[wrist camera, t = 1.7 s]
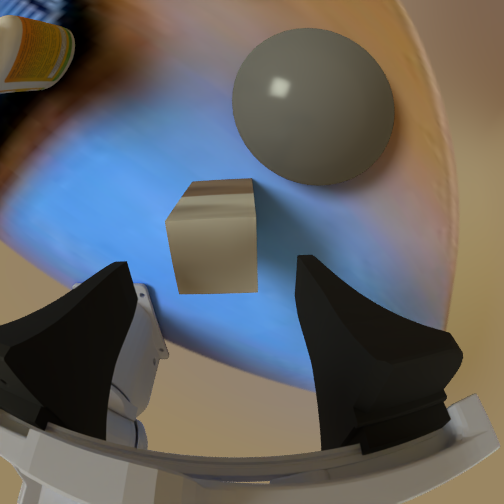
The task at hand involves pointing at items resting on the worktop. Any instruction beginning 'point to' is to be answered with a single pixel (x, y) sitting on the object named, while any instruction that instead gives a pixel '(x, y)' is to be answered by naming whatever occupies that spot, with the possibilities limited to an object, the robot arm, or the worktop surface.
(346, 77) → the stand
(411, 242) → the worktop surface
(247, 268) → the block
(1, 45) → the supplement bottle
